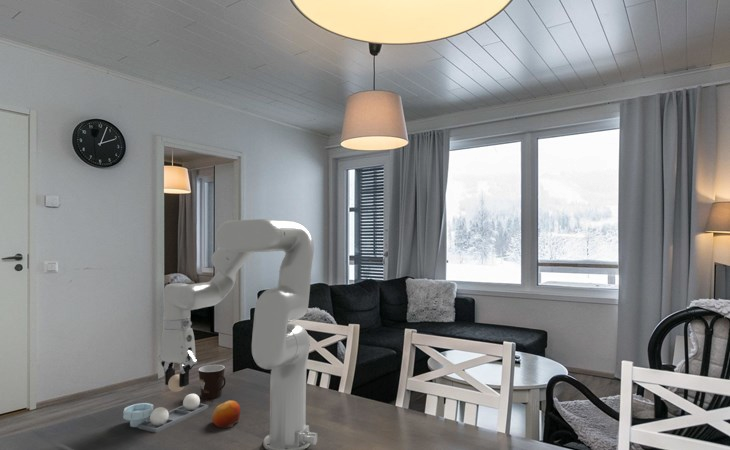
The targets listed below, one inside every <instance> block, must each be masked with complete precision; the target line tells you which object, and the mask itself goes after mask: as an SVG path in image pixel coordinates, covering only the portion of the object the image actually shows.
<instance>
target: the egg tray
mask: <svg viewBox="0 0 730 450" xmlns="http://www.w3.org/2000/svg"><path fill="white" fill-rule="evenodd" d="M208 408H209V404H206V403H202V402H200V404H199V406H198V407H197V408H196V409H194V410H187V409H185V408H184V406H183V404H182V405H181V406H178V407H176V408H173V409H171V410H169V411H168V413H169V417H168V420H167V421H166V423H164V424H163V425H160V426H155V425H153V424H152V423H151V421H150V419H149V420H148V419H147V421H146V422H144V423H141V424H139V425H138V427H137V429H140V430H142V431H146V432H152V433H155V434H157V433H159V432H161V431H164V430H165V429H168V428H170V427H171V426H173V425H176V424H178V423H181V422H182V421H184V420H186V419H188V418H190V417H192V416H194V415H196V414H199V413H201V412H203V411H205V410H207V409H208Z"/></svg>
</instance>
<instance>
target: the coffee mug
mask: <svg viewBox="0 0 730 450" xmlns="http://www.w3.org/2000/svg"><path fill="white" fill-rule="evenodd" d="M225 370H226V367H225V366H224V365H222V364H209V365H203V366H201V367H199V368H198V378H199V387H200V396H201V397H200V398H201V399H203V400H216V399H218V398H220V397H222V393H223V392H222V391H223V389H224V387H225V385H226V378H225Z"/></svg>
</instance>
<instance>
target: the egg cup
mask: <svg viewBox="0 0 730 450" xmlns="http://www.w3.org/2000/svg"><path fill="white" fill-rule="evenodd" d="M153 410H154V404H152V403H149V402H148V403H147V402H141V403H135V404H132V405H128V406H126V407H124V409H123V411H122V412H123V419H124V420H125V421H129V427H131V428H138V425H139V424H141V423H144V422H146V421H148V419H149V418H150V415H151V413H152V411H153Z"/></svg>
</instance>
